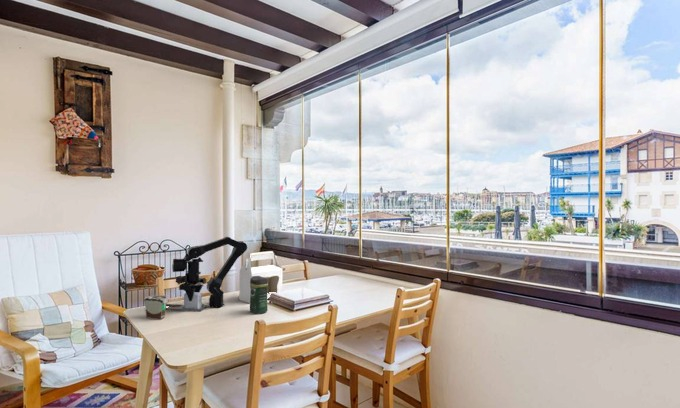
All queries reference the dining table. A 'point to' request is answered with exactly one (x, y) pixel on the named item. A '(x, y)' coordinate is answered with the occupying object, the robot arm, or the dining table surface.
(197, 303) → the medicine box
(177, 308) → the rail
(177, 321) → the dining table surface
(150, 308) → the food container
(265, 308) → the coffee jar
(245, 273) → the gable box
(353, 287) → the dining table surface
